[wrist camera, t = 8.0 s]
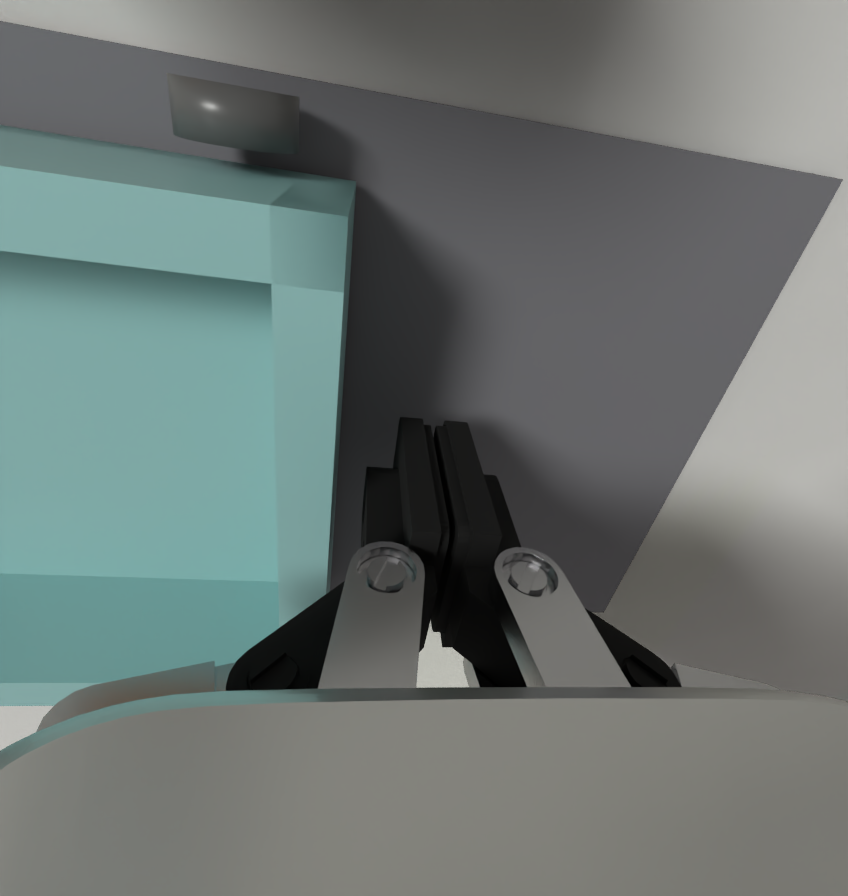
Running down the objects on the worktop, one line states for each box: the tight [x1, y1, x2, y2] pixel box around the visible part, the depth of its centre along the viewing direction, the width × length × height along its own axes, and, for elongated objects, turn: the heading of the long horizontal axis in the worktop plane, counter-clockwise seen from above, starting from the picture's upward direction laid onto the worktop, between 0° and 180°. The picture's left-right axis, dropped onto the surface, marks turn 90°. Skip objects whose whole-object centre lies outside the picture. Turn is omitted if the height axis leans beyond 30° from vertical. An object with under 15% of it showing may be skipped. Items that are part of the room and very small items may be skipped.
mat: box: [0, 21, 843, 612], centre depth 13 cm, size 22×15×1 cm
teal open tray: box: [0, 73, 356, 706], centre depth 10 cm, size 13×14×4 cm
